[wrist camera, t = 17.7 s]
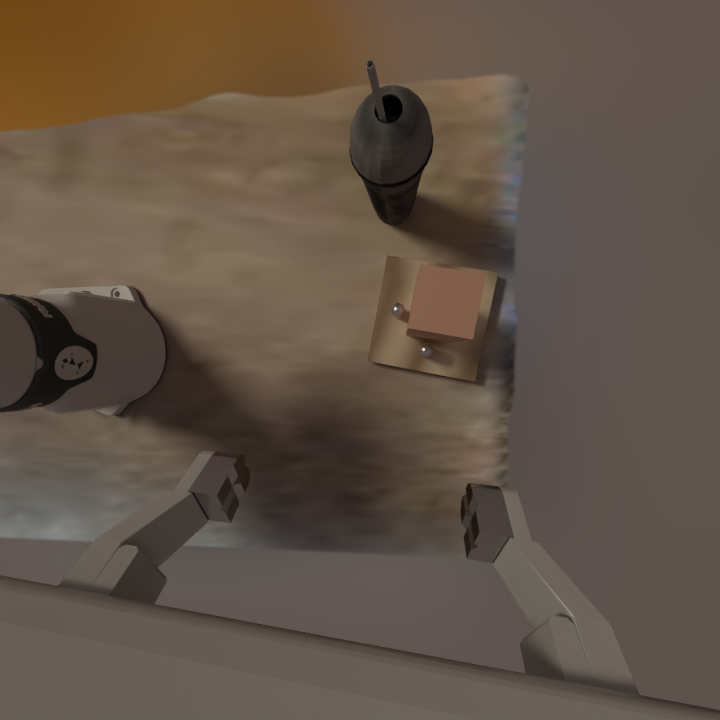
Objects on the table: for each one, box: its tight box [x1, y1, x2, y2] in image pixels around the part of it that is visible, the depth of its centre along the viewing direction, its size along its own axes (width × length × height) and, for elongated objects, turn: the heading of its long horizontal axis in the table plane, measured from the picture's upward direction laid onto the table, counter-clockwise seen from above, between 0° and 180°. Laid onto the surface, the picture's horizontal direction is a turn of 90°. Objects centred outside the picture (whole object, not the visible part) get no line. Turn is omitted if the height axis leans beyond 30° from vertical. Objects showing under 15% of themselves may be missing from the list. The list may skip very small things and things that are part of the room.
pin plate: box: [368, 256, 498, 382], centre depth 35 cm, size 13×13×4 cm
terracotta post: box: [406, 264, 486, 342], centre depth 30 cm, size 5×5×13 cm
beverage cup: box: [350, 59, 433, 225], centre depth 28 cm, size 7×7×20 cm
